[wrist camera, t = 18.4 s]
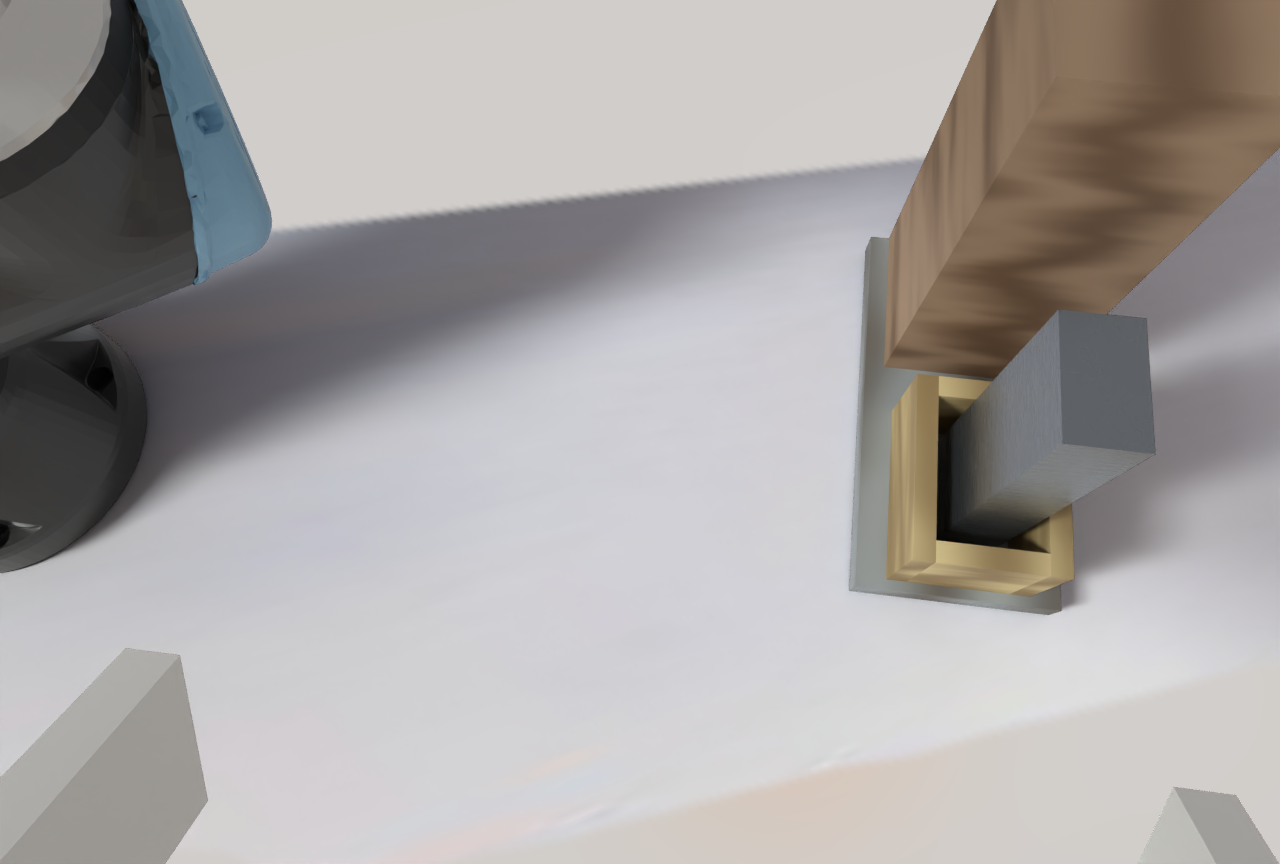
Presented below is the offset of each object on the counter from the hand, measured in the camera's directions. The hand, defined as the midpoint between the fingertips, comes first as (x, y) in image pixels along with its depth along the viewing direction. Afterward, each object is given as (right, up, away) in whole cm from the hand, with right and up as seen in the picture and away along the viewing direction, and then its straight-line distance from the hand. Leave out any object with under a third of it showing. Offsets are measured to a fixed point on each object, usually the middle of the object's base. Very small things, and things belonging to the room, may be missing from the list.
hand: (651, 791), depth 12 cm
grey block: (+16, +1, +33) cm, 37 cm away
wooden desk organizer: (+17, +6, +36) cm, 40 cm away
